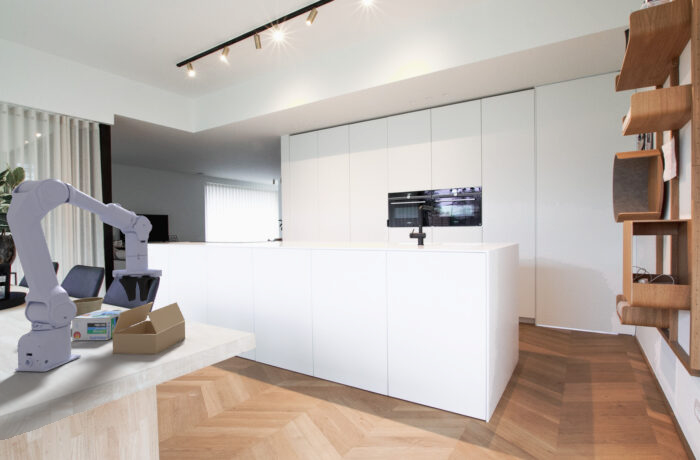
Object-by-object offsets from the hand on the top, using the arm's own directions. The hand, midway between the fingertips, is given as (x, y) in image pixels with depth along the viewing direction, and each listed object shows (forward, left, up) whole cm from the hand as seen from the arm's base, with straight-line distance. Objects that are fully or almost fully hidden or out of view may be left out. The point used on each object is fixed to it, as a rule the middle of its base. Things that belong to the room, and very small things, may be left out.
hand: (137, 300), depth 107 cm
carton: (-8, -10, -10) cm, 17 cm away
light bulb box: (+5, +12, -7) cm, 14 cm away
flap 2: (-8, -15, -3) cm, 17 cm away
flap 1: (-8, -5, -3) cm, 10 cm away
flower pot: (+9, +25, -11) cm, 29 cm away
